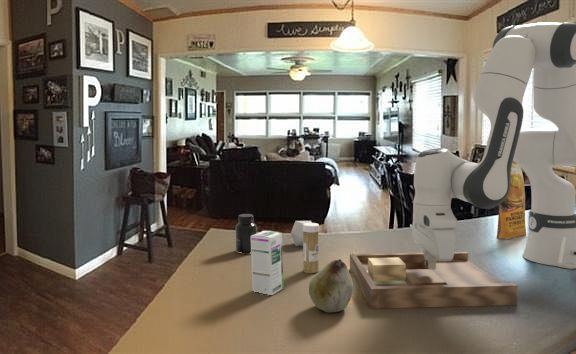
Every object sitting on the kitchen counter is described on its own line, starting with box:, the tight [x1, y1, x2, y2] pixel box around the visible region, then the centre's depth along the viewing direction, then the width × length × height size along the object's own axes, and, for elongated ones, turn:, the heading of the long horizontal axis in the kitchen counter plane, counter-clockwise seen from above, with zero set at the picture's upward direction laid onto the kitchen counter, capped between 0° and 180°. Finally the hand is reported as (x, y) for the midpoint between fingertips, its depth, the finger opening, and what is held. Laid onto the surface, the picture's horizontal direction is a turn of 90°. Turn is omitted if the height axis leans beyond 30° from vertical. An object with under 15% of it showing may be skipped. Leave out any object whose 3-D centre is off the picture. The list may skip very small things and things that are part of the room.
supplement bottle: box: [235, 213, 258, 253], centre depth 145 cm, size 7×7×12 cm
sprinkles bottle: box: [302, 222, 320, 274], centre depth 125 cm, size 5×5×14 cm
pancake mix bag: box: [496, 161, 527, 240], centre depth 162 cm, size 7×19×28 cm, turn 123°
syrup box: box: [250, 230, 284, 296], centre depth 111 cm, size 6×6×14 cm
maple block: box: [368, 257, 406, 281], centre depth 113 cm, size 8×6×4 cm
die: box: [290, 220, 313, 247], centre depth 153 cm, size 8×9×10 cm
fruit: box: [308, 258, 354, 314], centre depth 100 cm, size 10×9×12 cm
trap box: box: [349, 251, 519, 310], centre depth 114 cm, size 33×27×4 cm
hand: (430, 267), depth 114 cm, fingers closed
